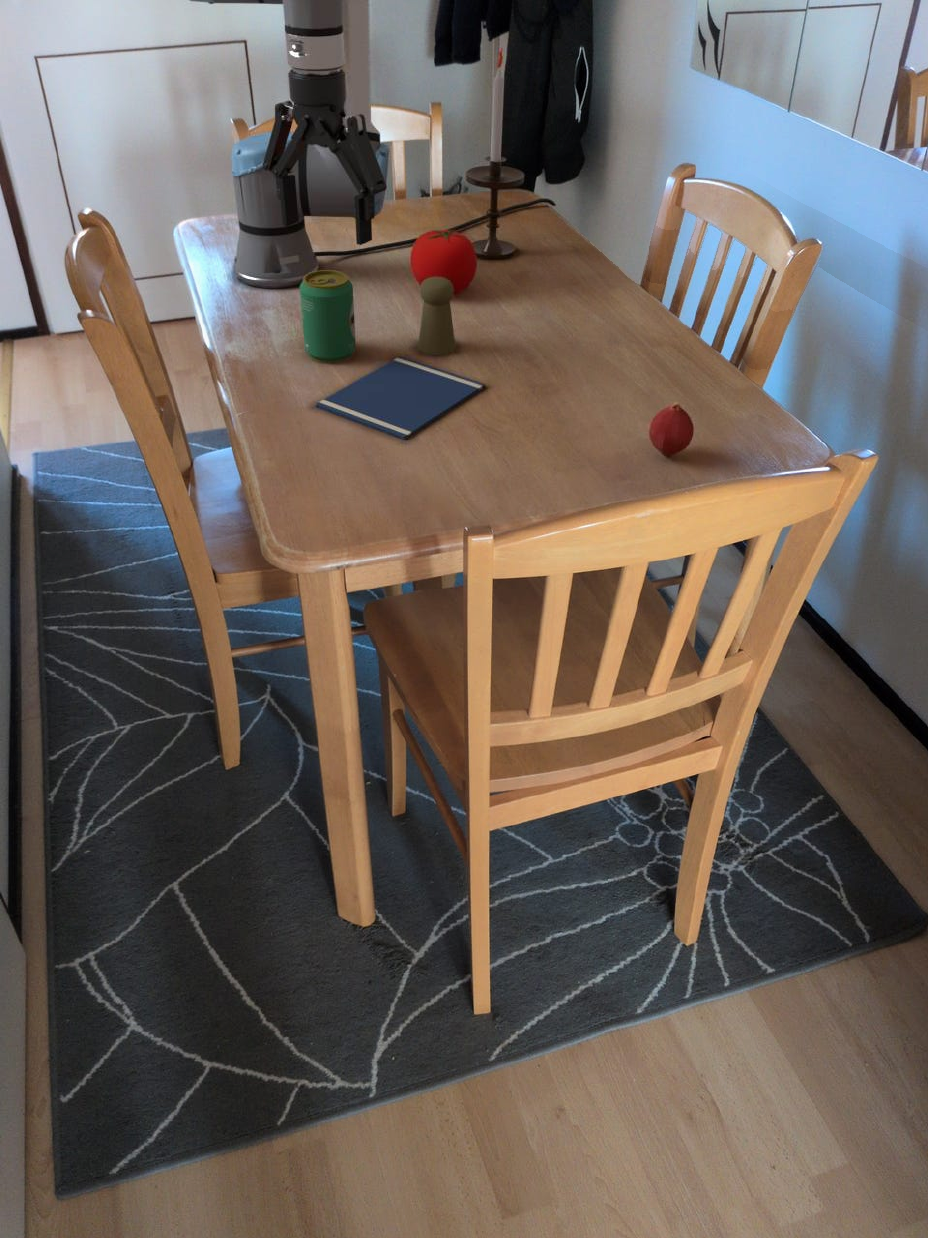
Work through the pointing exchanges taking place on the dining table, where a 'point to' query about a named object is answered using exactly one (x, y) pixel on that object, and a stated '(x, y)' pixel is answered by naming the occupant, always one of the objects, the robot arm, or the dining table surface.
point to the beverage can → (328, 316)
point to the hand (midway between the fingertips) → (326, 232)
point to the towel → (400, 397)
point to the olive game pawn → (436, 317)
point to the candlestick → (495, 179)
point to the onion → (671, 430)
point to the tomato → (444, 258)
